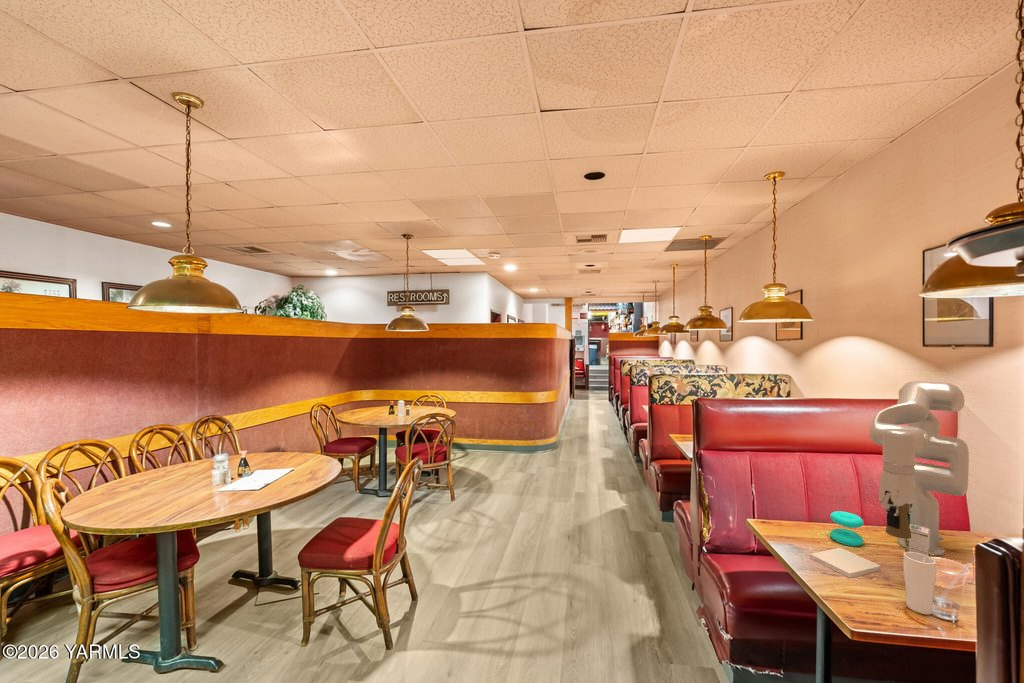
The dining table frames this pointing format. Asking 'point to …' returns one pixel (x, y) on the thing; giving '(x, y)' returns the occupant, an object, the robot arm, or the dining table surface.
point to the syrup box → (918, 540)
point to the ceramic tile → (845, 562)
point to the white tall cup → (919, 581)
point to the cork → (901, 524)
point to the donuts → (844, 534)
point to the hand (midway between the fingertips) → (898, 525)
